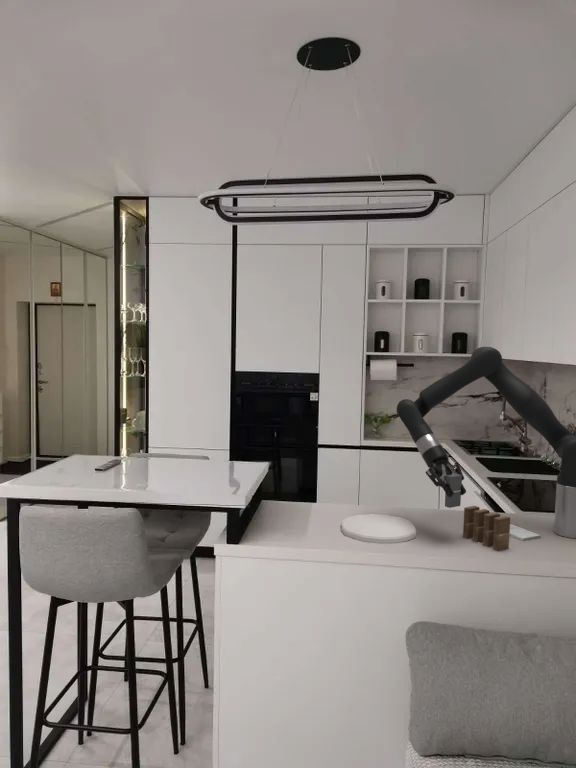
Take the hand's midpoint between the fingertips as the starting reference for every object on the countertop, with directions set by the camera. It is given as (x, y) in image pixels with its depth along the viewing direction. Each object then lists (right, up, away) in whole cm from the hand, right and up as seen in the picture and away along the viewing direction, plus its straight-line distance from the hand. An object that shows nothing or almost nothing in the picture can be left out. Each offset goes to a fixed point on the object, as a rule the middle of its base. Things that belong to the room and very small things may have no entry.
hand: (457, 494), depth 180 cm
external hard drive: (+24, -16, +12) cm, 32 cm away
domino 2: (+7, -16, +8) cm, 19 cm away
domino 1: (-1, -4, +2) cm, 5 cm away
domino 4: (+11, -16, +1) cm, 20 cm away
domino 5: (+13, -17, -2) cm, 21 cm away
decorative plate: (-23, -15, +13) cm, 31 cm away
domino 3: (+9, -16, +5) cm, 19 cm away
